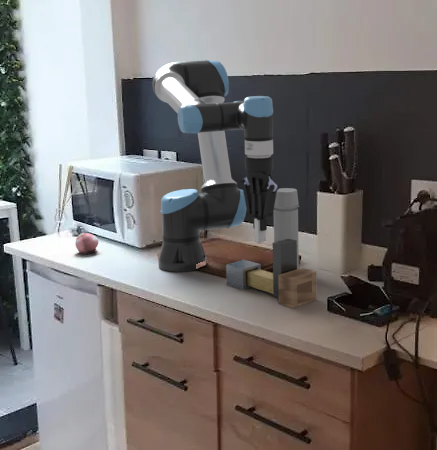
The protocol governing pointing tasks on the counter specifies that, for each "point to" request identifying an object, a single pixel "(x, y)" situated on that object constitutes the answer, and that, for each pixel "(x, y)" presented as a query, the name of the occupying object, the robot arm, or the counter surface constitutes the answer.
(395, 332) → the counter surface
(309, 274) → the socket block
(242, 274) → the sleeve
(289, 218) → the water bottle
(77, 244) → the apple
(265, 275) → the grey and yellow block
